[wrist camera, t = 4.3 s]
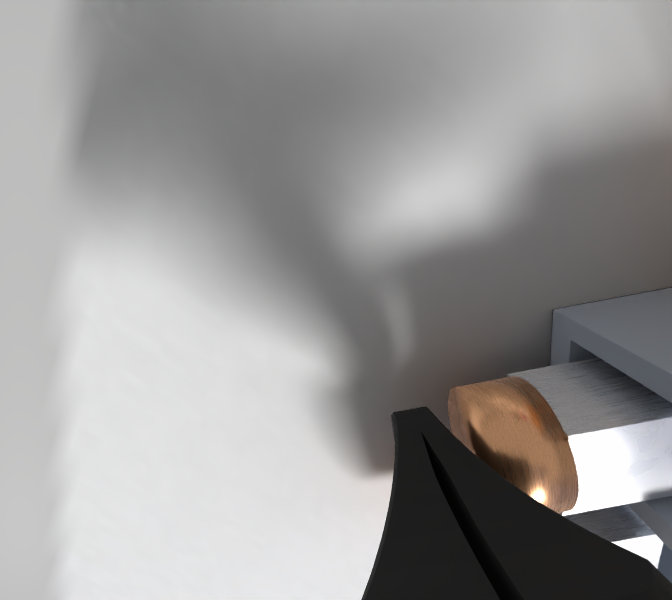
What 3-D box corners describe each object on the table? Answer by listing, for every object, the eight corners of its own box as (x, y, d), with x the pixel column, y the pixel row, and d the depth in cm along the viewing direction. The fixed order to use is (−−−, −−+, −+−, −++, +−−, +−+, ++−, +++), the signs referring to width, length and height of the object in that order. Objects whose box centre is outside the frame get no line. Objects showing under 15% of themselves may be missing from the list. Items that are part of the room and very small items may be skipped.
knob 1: (649, 414, 13) (781, 506, 9) (451, 450, 13) (504, 557, 10) (666, 323, 12) (828, 390, 8) (444, 364, 12) (504, 449, 8)
